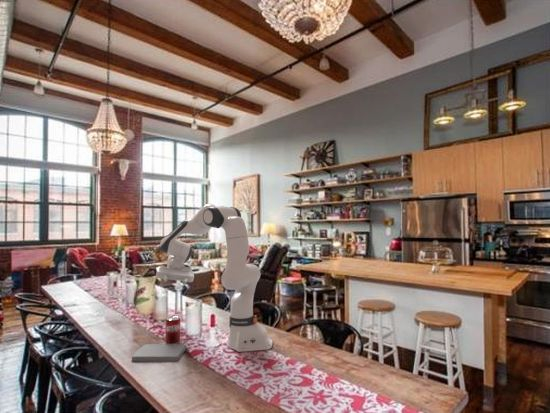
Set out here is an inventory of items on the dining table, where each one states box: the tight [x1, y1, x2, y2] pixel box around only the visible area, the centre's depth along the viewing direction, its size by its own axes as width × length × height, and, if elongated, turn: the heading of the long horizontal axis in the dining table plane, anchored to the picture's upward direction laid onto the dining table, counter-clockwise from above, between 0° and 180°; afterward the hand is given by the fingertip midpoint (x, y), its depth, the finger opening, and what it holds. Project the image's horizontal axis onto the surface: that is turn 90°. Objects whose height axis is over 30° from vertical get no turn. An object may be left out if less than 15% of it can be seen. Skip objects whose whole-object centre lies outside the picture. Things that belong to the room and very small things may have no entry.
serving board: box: [131, 343, 187, 362], centre depth 148 cm, size 20×14×2 cm
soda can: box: [164, 316, 182, 344], centre depth 164 cm, size 7×7×12 cm
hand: (175, 281), depth 171 cm, fingers open, 8 cm apart
